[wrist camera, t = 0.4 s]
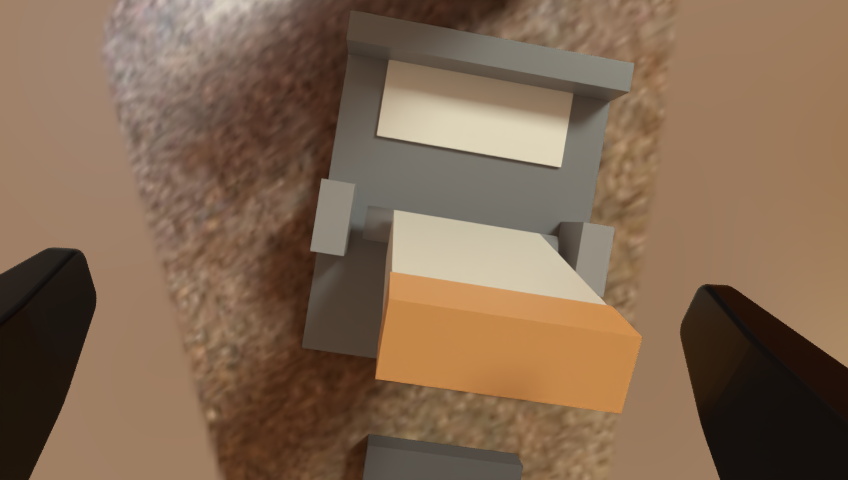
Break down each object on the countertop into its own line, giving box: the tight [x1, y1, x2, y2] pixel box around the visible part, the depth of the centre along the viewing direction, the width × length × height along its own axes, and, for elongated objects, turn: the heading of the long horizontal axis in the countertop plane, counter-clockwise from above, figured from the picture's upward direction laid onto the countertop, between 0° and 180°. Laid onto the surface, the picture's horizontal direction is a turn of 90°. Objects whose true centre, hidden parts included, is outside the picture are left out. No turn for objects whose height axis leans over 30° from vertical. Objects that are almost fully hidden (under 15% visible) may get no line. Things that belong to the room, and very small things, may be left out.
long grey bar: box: [362, 434, 523, 480], centre depth 24 cm, size 6×1×1 cm, turn 81°
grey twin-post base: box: [302, 10, 634, 359], centre depth 23 cm, size 12×10×4 cm
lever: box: [362, 205, 642, 414], centre depth 18 cm, size 2×7×11 cm, turn 81°
